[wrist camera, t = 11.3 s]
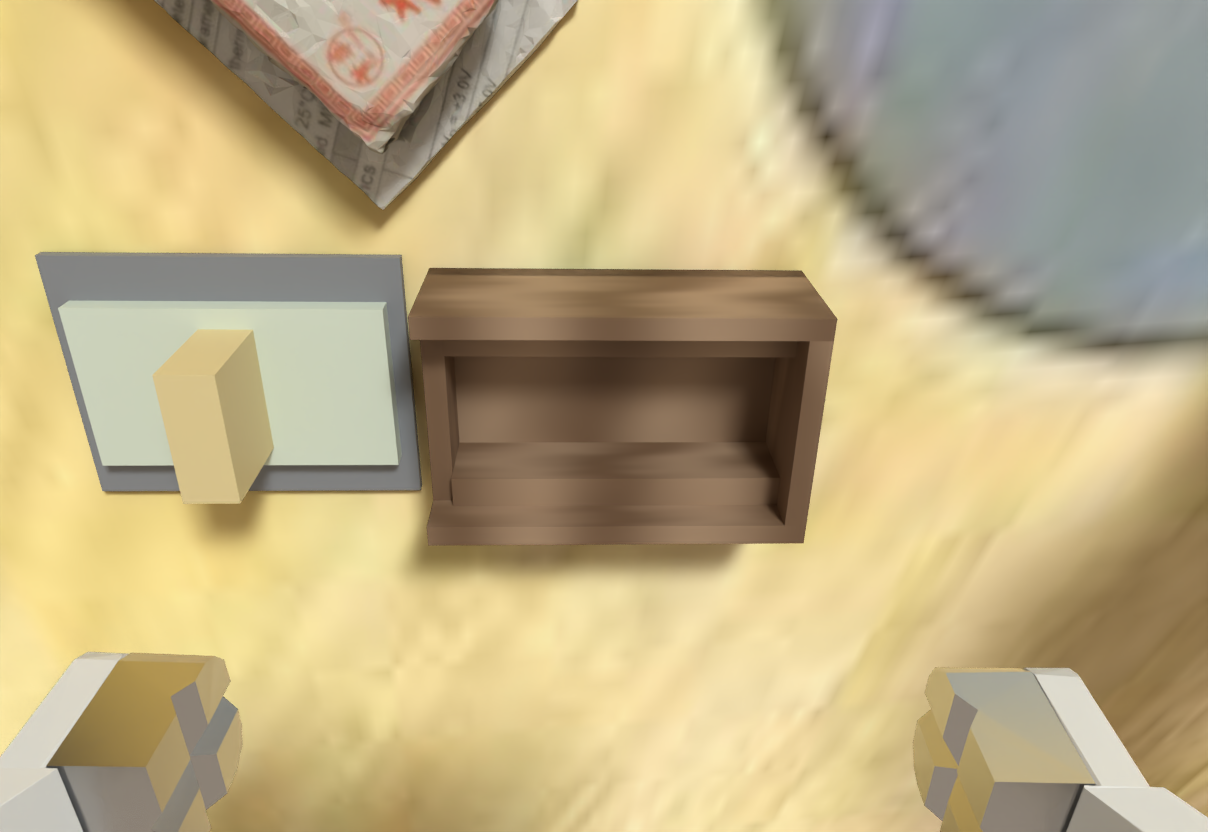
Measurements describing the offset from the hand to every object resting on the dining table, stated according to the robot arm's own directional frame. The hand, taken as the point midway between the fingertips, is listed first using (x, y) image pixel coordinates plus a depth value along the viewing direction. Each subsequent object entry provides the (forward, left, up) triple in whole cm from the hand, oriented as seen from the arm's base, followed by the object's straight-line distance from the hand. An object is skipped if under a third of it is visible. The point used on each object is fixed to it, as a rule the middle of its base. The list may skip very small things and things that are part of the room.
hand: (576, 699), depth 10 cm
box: (-2, +7, -24) cm, 25 cm away
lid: (+13, +7, -24) cm, 28 cm away
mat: (+13, +7, -24) cm, 28 cm away
